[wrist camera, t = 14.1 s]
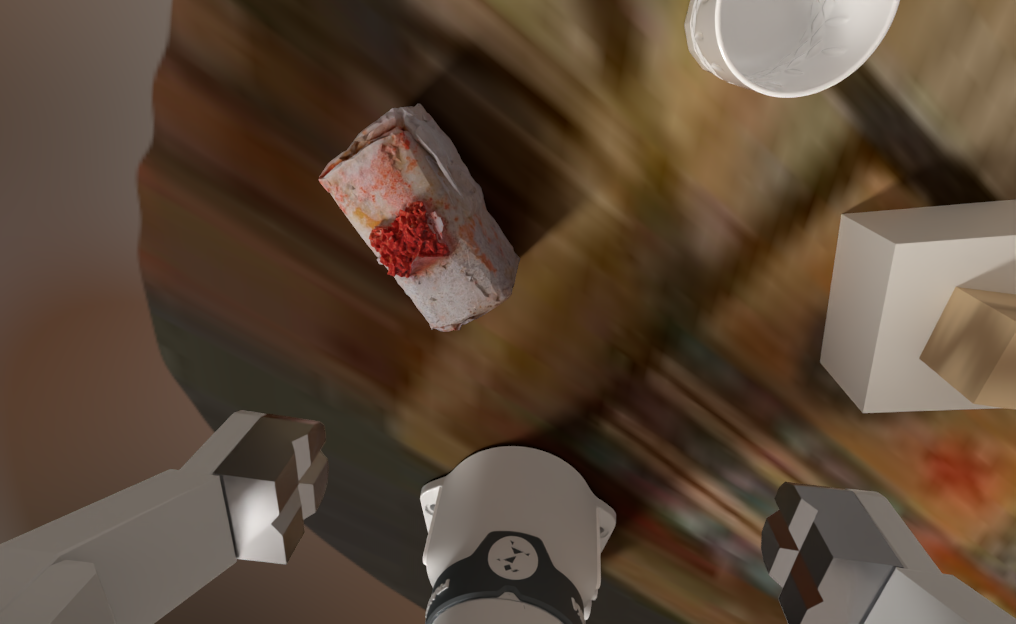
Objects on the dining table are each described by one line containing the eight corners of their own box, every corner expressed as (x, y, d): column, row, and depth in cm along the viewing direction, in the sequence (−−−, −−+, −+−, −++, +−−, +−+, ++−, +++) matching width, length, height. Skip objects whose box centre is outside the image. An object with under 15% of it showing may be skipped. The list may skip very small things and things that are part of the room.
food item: (345, 157, 39) (280, 186, 30) (429, 91, 36) (386, 100, 27) (456, 301, 43) (428, 364, 34) (539, 250, 40) (532, 304, 32)
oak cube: (999, 369, 34) (1066, 416, 29) (918, 358, 34) (973, 403, 29) (1041, 297, 32) (1121, 337, 27) (955, 286, 32) (1020, 324, 27)
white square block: (985, 352, 41) (1062, 405, 34) (818, 360, 42) (862, 413, 36) (1031, 197, 36) (1131, 226, 29) (839, 213, 37) (895, 244, 31)
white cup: (836, -27, 31) (946, -62, 22) (762, 107, 35) (831, 123, 26) (715, -81, 31) (777, -139, 22) (652, 60, 34) (683, 60, 25)
